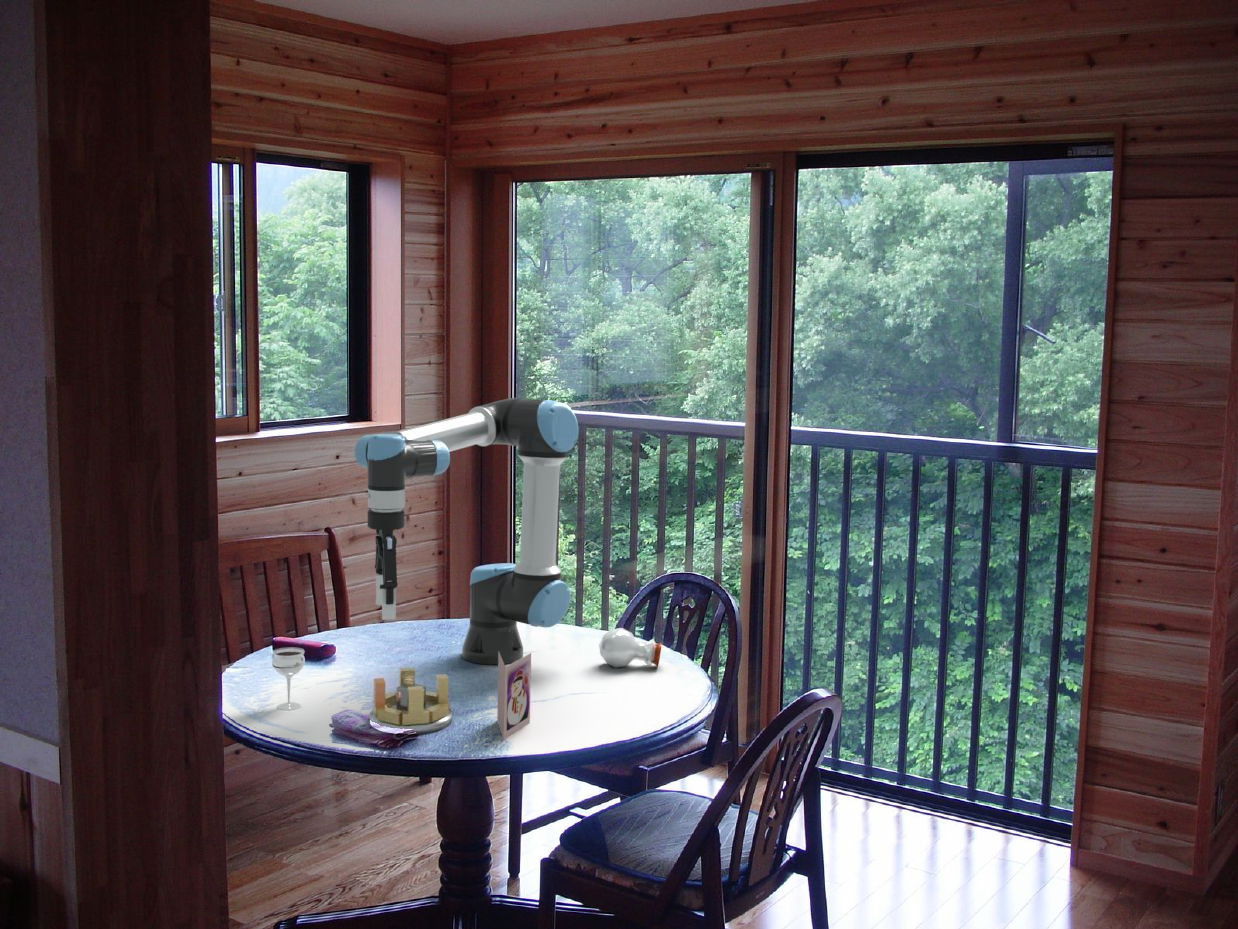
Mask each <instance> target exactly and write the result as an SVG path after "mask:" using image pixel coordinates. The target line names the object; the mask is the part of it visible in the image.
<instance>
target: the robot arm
mask: <svg viewBox="0 0 1238 929" xmlns="http://www.w3.org/2000/svg"><path fill="white" fill-rule="evenodd" d="M578 438H579V422H578V419H577V416H576V414H575V412H574V411H573V410H572V408H571V407H570V406H569V405H568V404H566V403H564V402H560V401H555V400H551V399H547V400H546V399H532V398H523V397H511V398H505V399H501V400H497V401H493V402H490V403H485V404H483V405H478V406H475V407H473V408H471V409H470V410H469V411H468V413H464V414H461V415H460V414H459V415H457V416H452V417H449V418H445V419H441V420H437V421H434V422H430V423H426V424H423V425H419V426H416V427H411V428H408V429H403V430H399V431H396V432H391V433H377V434H366V435H363V436H361V437H360V438H359V439H358V440H357V441H356V444H355V447H354V458H355V461H356V462H357V463H358V465H359V466H360V467H362V468H364V469H367V493H364V498H366V499H367V507H368V508H369V509H368V511H367V528H369V529H370V530H372V531H373V530H374V531H375V532H376V535H375V541H374V542H375V560H374V561H375V563H374V564H375V565H374V570H375V573H376V574H375V605H376V606H381V620H383V621H384V620H385V621H387V620H388V621H389V620H396V619H397V609H396V608H397V587H398V584H399V583H398V574H397V573H398V572H397V544H398V539H397V537H396V535H394V531H395V530H401V529H403V528H404V527H405V510H404V508H405V507H406V506H405V505H406V479H410V478H411V479H412V478H421V477H434V476H437V475H441V474H443V473H445V472H446V471H447V469H448V468H449V466H450V463H451V456H450V452H453V451H458V450H461V449H464V448H469V447H472V446H475V445H477V446H479V447H487V446H490V445H507V446H514V447H518V448H517V457H518V458H519V459H520V460H521V461H522V463H523V477H522V478H523V479H522V481H523V482H522V483H523V484H522V503H521V525H520V526H521V528H520V545H519V546H520V547H519V550H520V552H519V562H518V563H517V564H516V563H513V562H512V563H511V562H509V563H507V562H505V563H491V564H484V565H479V566H476V567H474V568H473V569H472V571H471V572H470V580H469V581H470V582H469V627H468V628H467V629H468V630H467V633H466V635H465V638H464V642H463V643H462V644H463V645H462V648H461V651H462V652H461V656H462V658H463V659H464V660H466V661H468V662H471V663H475V664H480V665H481V664H483V665H498V654H499V653H500V656H501V658H502V661H503V663H504V665H505V664H512V663H513V662H515V661H517V660H519V659H521V658H523V657H524V646H523V642H522V639H521V636H520V632H519V629H518V626H517V623H521V624H526V625H530V626H532V627H533V628H534V627H536V628H537V627H540V628H547V629H548V628H551V627H554V626H556V625H557V624H559V622H561V620H562V619H563V617H565V615H566V613H567V611H568V609H569V608H570V604H571V603H570V602H571V591H570V588H569V586H568V585H567V583H566V582H564V581H563V580H562V570H561V568H560V567H559V566H558V565H557V563H556V558H557V557H556V555H557V537H558V534H557V533H558V517H559V516H558V515H559V514H558V513H559V496H560V494H559V492H560V475H561V474H560V470H561V465H562V463H563V462H564V461H565V460H566V459H567V458H568V457H567V456H568V451H570V450H572V449H573V448H574V447H575V445H576V444H575V443H576V442H577V440H578Z"/></svg>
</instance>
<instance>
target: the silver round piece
mask: <svg viewBox="0 0 1238 929" xmlns="http://www.w3.org/2000/svg"><path fill="white" fill-rule="evenodd" d="M415 686H423V689H424V710H425V709H428V708H430V707H432V706H430V705H426V691H427V687H426V686H425V685H423V684H420V683H419V684H418V683H415V684H405V685H401V686H399V685H398V686H397V687H396V690H395V692H396V705H394V706H392V707H390V708H392V709H396V710H401V711H407V687H415ZM368 716H369V717H368V718H369V719H370V720H371V721H372V722H375V723H377V724H379V725H380V726H386V727H390V728H400V729H403V728H404V729H413V730H414V732H416V733H417V734H418V735H424V734H426V735H427V734H431V733H436V732H438V731H441V730H443V729H445V728H447V727H449V726H450V725H451V723H452V722H453V711H452V710H451V708H449V714H448V715H447V716H445V717H442V718H440V719H438V720H436V721H434V722H429V723H422V724H409V725H402V724H399V725H398V724H393V723H389V722H385V721H380V720H378V719H376V718H375V715H374V712H373V709H372V710H371V711H370V713H369V715H368Z"/></svg>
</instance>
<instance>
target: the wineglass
mask: <svg viewBox="0 0 1238 929" xmlns="http://www.w3.org/2000/svg"><path fill="white" fill-rule="evenodd" d="M305 650H306V649H305ZM305 650H304V648H301V647H280V648H276V649H274V650H273V651H272V655H273V657H272V663H271V664H272V665H271V666H272V668H273V669H274V670H275V671H276V672H277V673H278V674H280V675H282V676H284V677H285V679H286V685H287V686H286V688H287V689H286V690H287V691H286V692H287V702H283V703H280V704H278V705H277V706H276V708H277V709H279V710H280V711H281V710H282V711H291V710H296V709H299V708H300V707H302V706H301V704H300V703H298V702H292V701H291V682H292V681H291V680H292V679H291V678H293V676H294V675H297V674H298V673H300V671H301V670H302V669H304V666H305V663H306V659H305V656H304V655H305Z"/></svg>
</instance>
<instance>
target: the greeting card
mask: <svg viewBox="0 0 1238 929" xmlns="http://www.w3.org/2000/svg"><path fill="white" fill-rule="evenodd" d="M497 665H498V666H497V667H498V668H497V669H498V671H497V672H498V673H497V713H496V714H497V724H498V727H499V730H500V732H501V736H502V739H503V740H506V739H507V738H509V737H510V736H512V735H513V734H515V733H516V732H518V731H519V730H521V729H523V728H524V727H525V726H527V725H528V724H530V723H531V722H530V721H531V678H532V674H531V673H532V652H530V653H529V654H526V655H525V656H523V657H522V658H521V659H519V660H517V661H515V662H511V663H509V664H508V665H506V666H505V664H504V663H503V661H502V658H501V656H500V653H499V654H498V664H497Z"/></svg>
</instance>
